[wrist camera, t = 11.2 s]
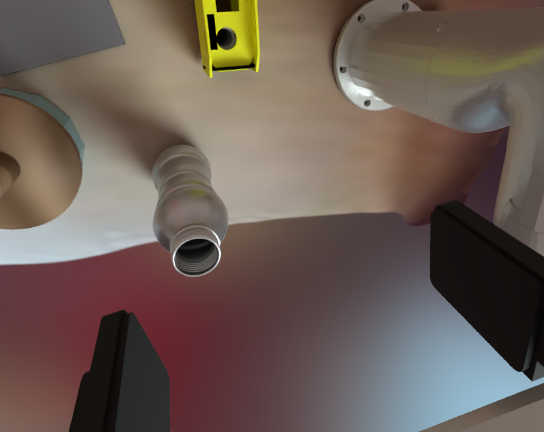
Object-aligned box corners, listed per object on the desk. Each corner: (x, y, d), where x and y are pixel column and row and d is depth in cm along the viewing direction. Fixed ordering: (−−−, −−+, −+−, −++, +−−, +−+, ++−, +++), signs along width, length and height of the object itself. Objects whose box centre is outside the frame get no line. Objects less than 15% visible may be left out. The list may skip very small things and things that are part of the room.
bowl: (49, 76, 37) (35, 83, 33) (101, 180, 43) (96, 198, 39) (-77, 108, 35) (-109, 121, 31) (-4, 211, 41) (-22, 234, 37)
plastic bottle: (140, 164, 43) (129, 260, 26) (183, 127, 43) (202, 201, 26) (178, 200, 47) (191, 306, 30) (219, 166, 46) (256, 254, 29)
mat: (78, -80, 32) (77, -81, 32) (125, 43, 37) (125, 44, 37) (-68, -49, 31) (-71, -50, 30) (2, 75, 36) (1, 75, 35)
